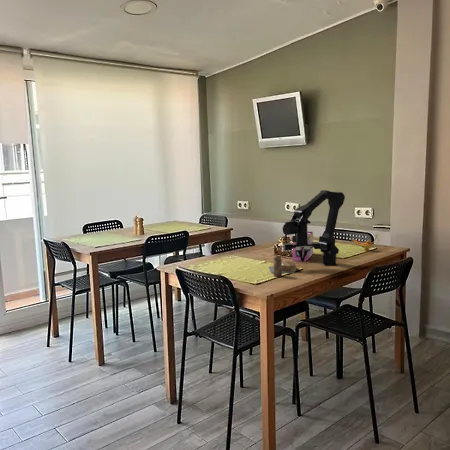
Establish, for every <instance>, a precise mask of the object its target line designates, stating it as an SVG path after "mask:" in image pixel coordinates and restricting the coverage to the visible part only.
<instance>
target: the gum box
mask: <svg viewBox="0 0 450 450" xmlns="http://www.w3.org/2000/svg"><path fill="white" fill-rule="evenodd" d="M307 233H308V244H312V242H314V231H307ZM294 236H296V234H294ZM292 245H296V242H292ZM309 249H310V251H308V253H307V255H306V257H305V260H304V262H307V261H308V260H309V259H310V258H311V256H312V255H313V254H314V247H311V248H309ZM301 250H302V257H303V248H301ZM292 261H293V262H301V259H300V256H299V253H298V252H296V251H295V248H292Z"/></svg>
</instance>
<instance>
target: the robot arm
mask: <svg viewBox="0 0 450 450" xmlns="http://www.w3.org/2000/svg"><path fill="white" fill-rule="evenodd" d="M345 198H346V196H345V194H344V193H343V192H342V191H341V192H340V191H330V190H327V189H326V190H325V189H322V190H320V191H319V192H318V193H317V194H316V195H315V196H314V197H312V199H311V200H309V201H308V202H307V203H306V204H304V205H300V206H299V207H297V208H296V209H295V208H294V211H293V214H292V216H291V217H290V220H289V221H285V222H284V224H283V226H282V233H283V234H284V236H291V235H292V236H291V242H292V243H291V242H285V243H284V244H283V251H291V250H293V248H295V251H296V252H298V253H299V256H300V259H301V261H300V262H301V263H304V262H305V261H304V260H305V257H306V255H307V253H308V251H310V249H309V248H311V247H313V249H315V250H320V253H322V255H321V262H322V265H324V266H337V265H338V264H337V254H339V253H340V250H339V248H338V247H337V246H336V239H335V236H334V235H335V230H336V225H337V220H338V215H339V211H340V209H341V207H342V206H343V205H344V202H345ZM326 200H327V204H328V206H329V209H328V214H327V217H326V218H327V219H326V223H325V224H326V225H325V229H324V232H323V234H322V235H319V237H318V239H319V240H318V241H313V242H312V244H308V233H307V232H308V224H311V221H310V220H309V218H310V217H311V215H312V213H313V211H314V210H315V209H316V208H318V207H319V206H321V204H322V203H323V202H325V201H326ZM295 235H296V236H295ZM293 242H296V245H293ZM301 248H303V257H302V250H301Z"/></svg>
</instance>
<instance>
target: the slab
mask: <svg viewBox="0 0 450 450" xmlns="http://www.w3.org/2000/svg"><path fill="white" fill-rule="evenodd" d="M282 271H294V272H296V271H297V266H296V263H295V261H293V260H287V261H286V260H284V261H283V260H282Z"/></svg>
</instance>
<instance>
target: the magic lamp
mask: <svg viewBox="0 0 450 450" xmlns="http://www.w3.org/2000/svg"><path fill="white" fill-rule="evenodd" d="M374 235H375V237H374V241H373V242H371V240H370V239H367V240H366V242H360V241H358V240H356V239H354V238H350V240H351V241H352V242H354V243H355V244H356V245H358V246H359V247H361V248H363V249H364V250H365V251H371V248H374V246H375V245H376V244H378V243H379V242H380V239H379V238H378V237H379V236H378V234H374ZM376 240H377V242H376ZM375 242H376V243H375Z"/></svg>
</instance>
